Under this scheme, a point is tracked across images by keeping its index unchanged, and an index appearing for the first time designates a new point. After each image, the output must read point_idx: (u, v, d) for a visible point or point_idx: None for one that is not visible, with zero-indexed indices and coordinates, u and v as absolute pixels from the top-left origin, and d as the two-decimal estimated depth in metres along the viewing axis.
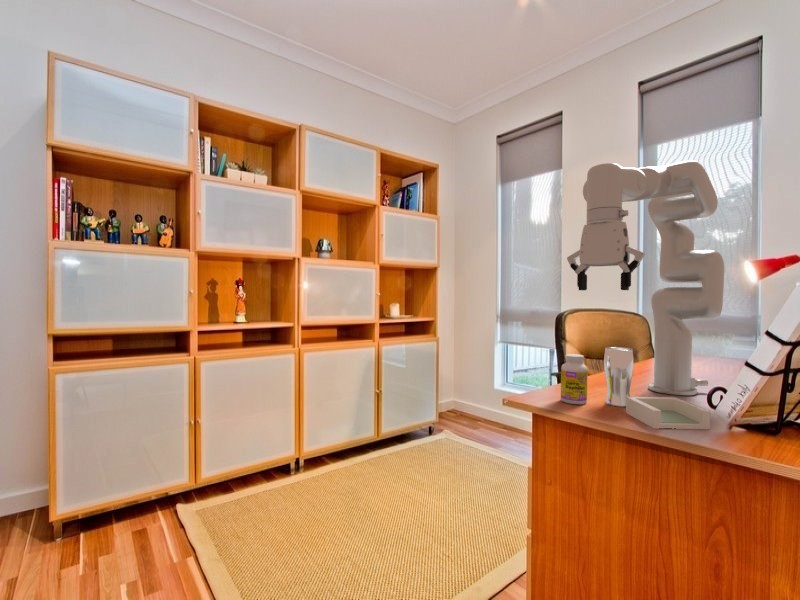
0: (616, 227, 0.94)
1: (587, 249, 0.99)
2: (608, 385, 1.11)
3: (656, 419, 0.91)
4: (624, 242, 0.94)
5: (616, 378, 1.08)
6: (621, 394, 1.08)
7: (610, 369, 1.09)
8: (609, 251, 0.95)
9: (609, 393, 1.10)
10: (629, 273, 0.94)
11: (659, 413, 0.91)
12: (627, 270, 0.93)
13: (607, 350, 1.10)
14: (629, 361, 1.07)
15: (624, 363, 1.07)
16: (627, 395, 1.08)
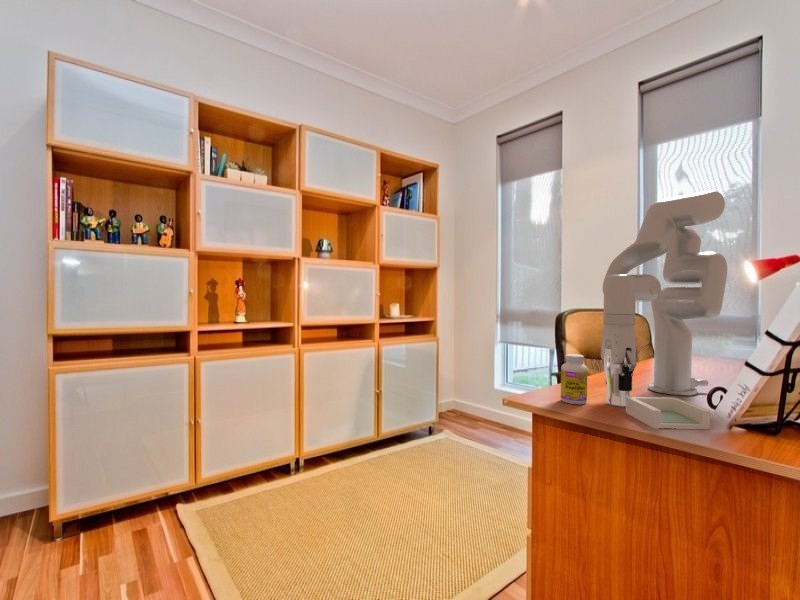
0: None
1: None
2: (608, 385, 1.11)
3: (656, 419, 0.91)
4: None
5: (616, 377, 1.08)
6: (621, 394, 1.08)
7: (610, 369, 1.09)
8: None
9: (609, 393, 1.10)
10: None
11: (659, 413, 0.91)
12: None
13: (607, 350, 1.10)
14: None
15: None
16: (627, 395, 1.08)
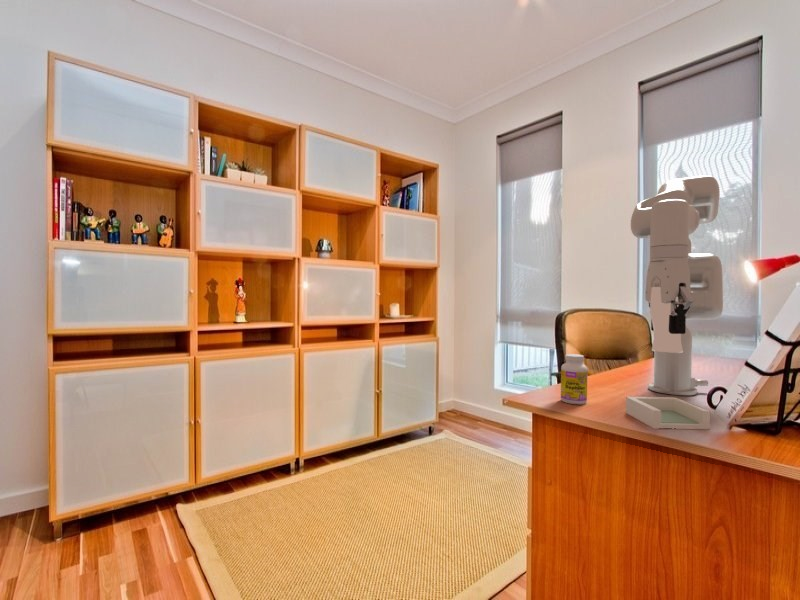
0: None
1: None
2: (655, 329, 0.96)
3: (656, 419, 0.91)
4: None
5: (667, 319, 0.93)
6: (671, 338, 0.94)
7: (659, 310, 0.94)
8: None
9: (657, 338, 0.95)
10: None
11: (659, 413, 0.91)
12: None
13: (654, 288, 0.95)
14: (681, 299, 0.93)
15: (676, 301, 0.92)
16: (679, 339, 0.94)
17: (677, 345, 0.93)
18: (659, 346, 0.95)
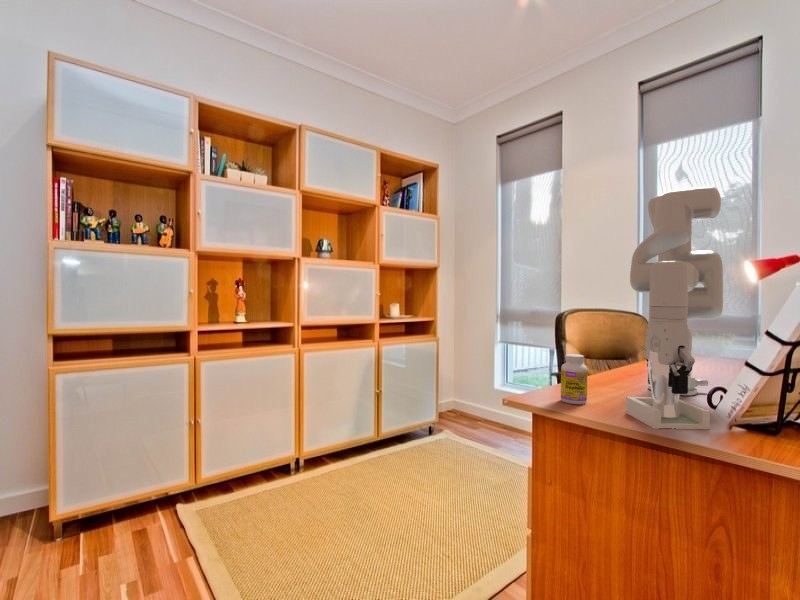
0: None
1: None
2: (654, 393, 0.96)
3: (656, 419, 0.91)
4: None
5: (665, 385, 0.94)
6: (669, 404, 0.94)
7: (657, 375, 0.95)
8: None
9: (655, 402, 0.96)
10: None
11: (659, 413, 0.91)
12: None
13: (653, 353, 0.96)
14: (679, 366, 0.93)
15: None
16: (676, 405, 0.94)
17: (675, 411, 0.94)
18: None
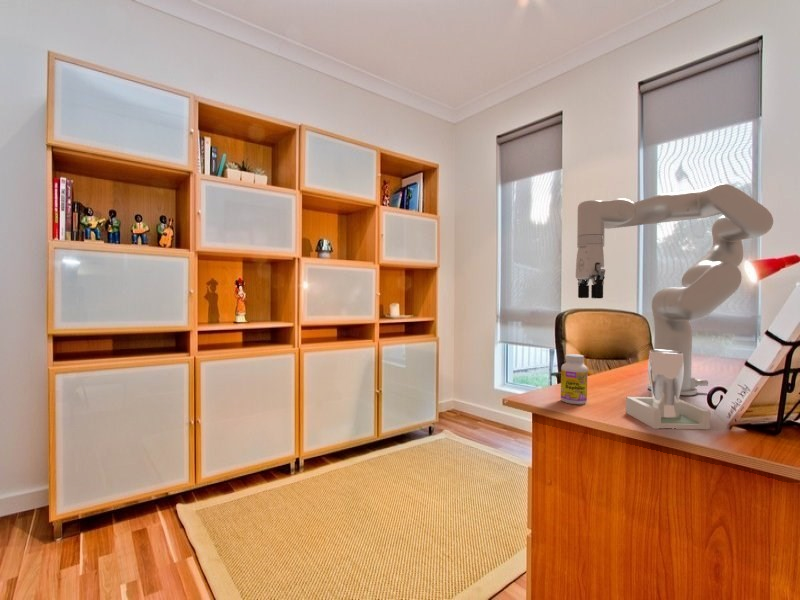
0: None
1: None
2: (654, 393, 0.96)
3: (656, 419, 0.91)
4: None
5: (665, 385, 0.94)
6: (669, 404, 0.94)
7: (657, 375, 0.95)
8: None
9: (655, 402, 0.96)
10: None
11: (659, 413, 0.91)
12: None
13: (653, 353, 0.96)
14: (679, 366, 0.93)
15: (674, 368, 0.93)
16: (676, 405, 0.94)
17: (675, 411, 0.94)
18: None
